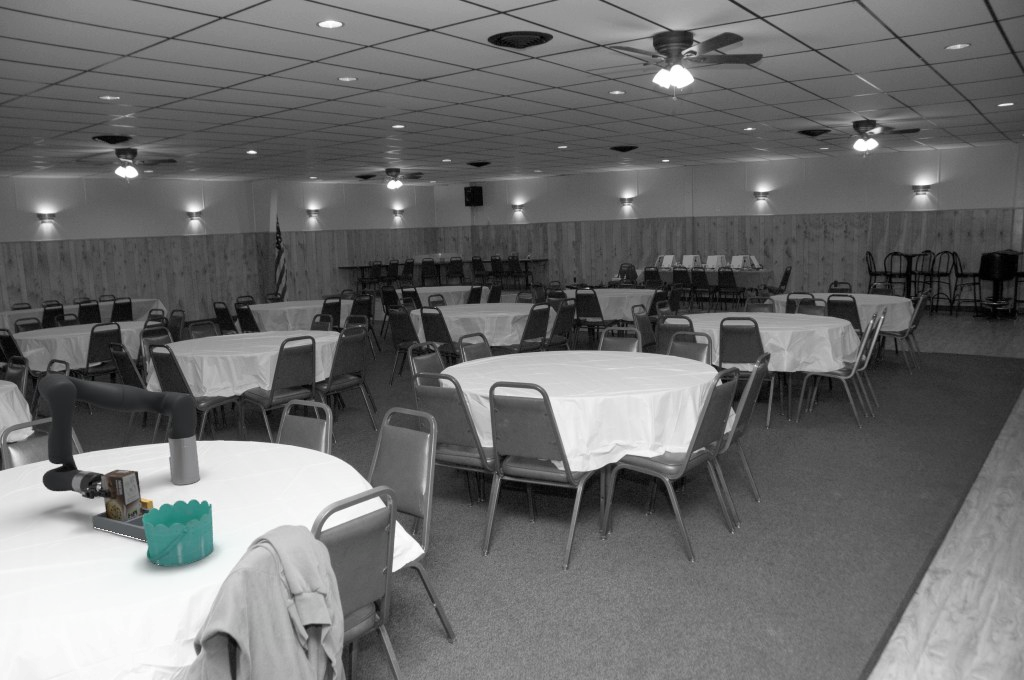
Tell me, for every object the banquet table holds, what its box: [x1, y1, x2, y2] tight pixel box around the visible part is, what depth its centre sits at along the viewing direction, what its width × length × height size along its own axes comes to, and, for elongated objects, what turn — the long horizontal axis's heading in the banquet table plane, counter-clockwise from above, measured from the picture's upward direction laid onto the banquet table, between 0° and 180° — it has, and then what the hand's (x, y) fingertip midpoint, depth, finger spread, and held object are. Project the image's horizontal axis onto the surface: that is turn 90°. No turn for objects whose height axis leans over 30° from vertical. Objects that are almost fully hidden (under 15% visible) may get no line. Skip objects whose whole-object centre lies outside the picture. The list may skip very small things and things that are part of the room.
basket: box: [142, 499, 214, 567], centre depth 223 cm, size 19×18×13 cm
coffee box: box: [101, 469, 143, 522], centre depth 246 cm, size 9×6×16 cm
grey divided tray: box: [91, 497, 174, 541], centre depth 244 cm, size 30×14×6 cm, turn 60°
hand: (121, 490), depth 246 cm, fingers open, 8 cm apart
